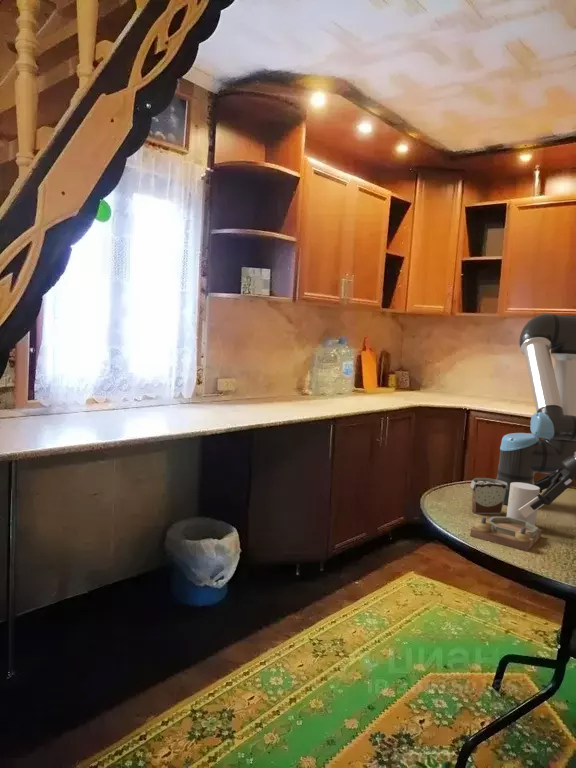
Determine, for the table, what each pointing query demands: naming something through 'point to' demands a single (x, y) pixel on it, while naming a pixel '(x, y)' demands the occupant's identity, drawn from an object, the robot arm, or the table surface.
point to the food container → (488, 495)
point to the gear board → (507, 531)
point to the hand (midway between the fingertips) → (519, 507)
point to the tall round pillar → (521, 500)
